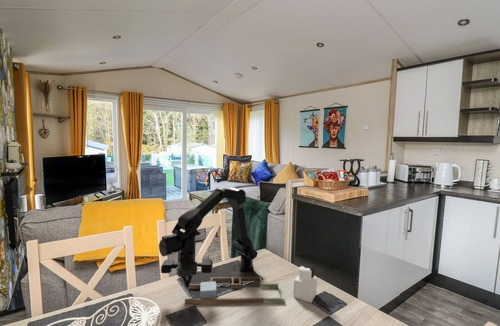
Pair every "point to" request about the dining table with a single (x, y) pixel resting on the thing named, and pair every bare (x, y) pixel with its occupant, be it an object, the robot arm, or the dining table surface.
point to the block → (208, 290)
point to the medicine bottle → (305, 283)
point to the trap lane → (237, 300)
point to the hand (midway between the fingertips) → (187, 287)
